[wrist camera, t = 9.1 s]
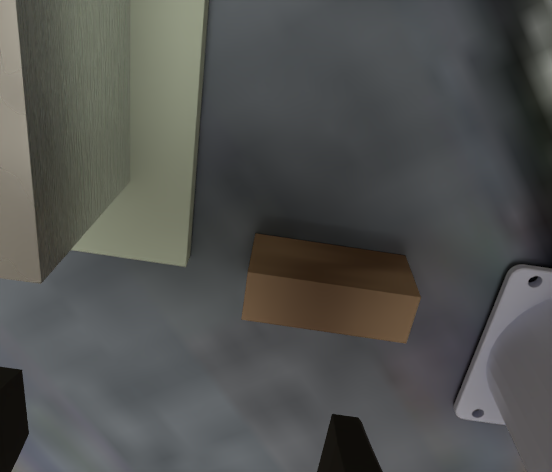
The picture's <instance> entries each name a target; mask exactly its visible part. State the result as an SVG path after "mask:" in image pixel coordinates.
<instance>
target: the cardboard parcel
mask: <svg viewBox="0 0 552 472" xmlns="http://www.w3.org/2000/svg"><path fill="white" fill-rule="evenodd" d="M420 299H421V296H420V294H419V291H418V288H417V286H416V283H415V280H414V277H413V275H412V272H411V269H410V267H409V264H408V261H407V259H406V256H405V255H398V254H391V253H385V252H378V251H371V250H364V249H358V248H351V247H344V246H337V245H331V244H324V243H317V242H310V241H304V240H297V239H290V238H284V237H277V236H270V235H263V234H257V233H255V238H254V243H253V248H252V253H251V259H250V264H249V269H248V275H247V282H246V290H245V297H244V305H243V312H242V319H241V320H248V321H255V322H262V323H269V324H276V325H282V326H289V327H296V328H303V329H310V330H317V331H324V332H331V333H338V334H345V335H351V336H358V337H365V338H372V339H379V340H386V341H393V342H400V343H406V342H407V339H408V336H409V333H410V330H411V327H412V324H413V320H414V317H415V314H416V311H417V308H418V305H419V302H420Z"/></svg>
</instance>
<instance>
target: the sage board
mask: <svg viewBox="0 0 552 472" xmlns="http://www.w3.org/2000/svg"><path fill="white" fill-rule="evenodd" d="M208 6H209V0H130V182H129V184H128V185H127V186H126V187H125V188H124V189H123V190H122V192H121V193H120V194H119V195H118V196H117V197H116V198H115V200H114V201H113V202H112V203H111V204H110V205H109V206H108V208H107V209H106V210H105V211H104V212H103V213H102V215H101V216H100V217H99V218H98V219H97V220H96V221H95V223H94V224H93V225H92V226H91V227H90V228H89V229H88V231H87V232H86V233H85V234H84V235H83V236H82V237H81V239H80V240H79V241H78V242H77V243H76V244H75V246H74V247H73V248H72V249H71V250H74V251H81V252H88V253H95V254H102V255H108V256H115V257H122V258H129V259H136V260H143V261H149V262H156V263H163V264H170V265H177V266H183V267H186V265H187V263H188V261H189V258H190V250H191V236H192V223H193V209H194V196H195V182H196V169H197V155H198V141H199V128H200V114H201V101H202V87H203V74H204V60H205V47H206V33H207V20H208Z"/></svg>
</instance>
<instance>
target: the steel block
mask: <svg viewBox="0 0 552 472" xmlns="http://www.w3.org/2000/svg"><path fill="white" fill-rule="evenodd" d="M129 182H130V0H0V278H4V279H11V280H18V281H26V282H33V283H40V284H41V283H42V282H43V281H44V280H45V279H46V278H47V277H48V275H49V274H50V273H51V272H52V271H53V270H54V268H55V267H56V266H57V265H58V264H59V263H60V262H61V260H62V259H63V258H64V257H65V256H66V255H67V254H68V252H69V251H70V250H71V249H72V248H73V247H74V246H75V244H76V243H77V242H78V241H79V240H80V239H81V237H82V236H83V235H84V234H85V233H86V232H87V231H88V229H89V228H90V227H91V226H92V225H93V224H94V223H95V221H96V220H97V219H98V218H99V217H100V216H101V215H102V213H103V212H104V211H105V210H106V209H107V208H108V206H109V205H110V204H111V203H112V202H113V201H114V200H115V198H116V197H117V196H118V195H119V194H120V193H121V192H122V190H123V189H124V188H125V187H126V186H127V185H128V184H129Z"/></svg>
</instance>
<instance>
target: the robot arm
mask: <svg viewBox="0 0 552 472" xmlns="http://www.w3.org/2000/svg"><path fill="white" fill-rule="evenodd" d="M534 276H538V278H537V279H536V280H535V281H533V282H528V281H529V279H530V278H532V277H534ZM476 409H480V410H478V411H474V410H476ZM454 410H455V413H456V415H457V416H458V417H459V418H462V419H466V420H473V421H480V422H487V423H494V424H501V425H506V427H507V429H508V431H509V433H510V435H511V438H512V440H513V442H514V444H515V446H516V449H517V451H518V453H519V455H520V457H521V460H522V462H523V464H524V466H525V468H526V471H527V472H552V269H551V268H545V267H538V266H531V265H524V264H520V265H516V266H513V267H512V268H511V269H509V271H508V272H507V274H506V277H505V279H504V282H503V284H502V287H501V289H500V291H499V294H498V296H497V299H496V301H495V304H494V306H493V309H492V311H491V314H490V316H489V319H488V321H487V324H486V326H485V329H484V331H483V334H482V336H481V339H480V341H479V344H478V346H477V349H476V351H475V354H474V356H473V359H472V361H471V364H470V366H469V369H468V371H467V374H466V376H465V379H464V381H463V384H462V386H461V389H460V391H459V394H458V396H457V399H456V401H455V404H454ZM28 434H29V430H28V421H27V412H26V402H25V393H24V384H23V375H22V370H19V369H12V368H5V367H0V472H11V471H12V469H13V467H14V465H15V463H16V461H17V459H18V457H19V454H20V452H21V450H22V448H23V446H24V443H25V441H26V439H27V437H28ZM317 472H383V471H382V469H381V467H380V465H379V463H378V460H377V458H376V456H375V454H374V451H373V449H372V447H371V444H370V442H369V440H368V437H367V435H366V432H365V430H364V427H363V424H362V422H361V421H360V419H359V418H357V417H350V416H343V415H336V414H332V417H331V420H330V424H329V428H328V432H327V436H326V440H325V444H324V447H323V451H322V455H321V459H320V463H319V467H318V471H317Z"/></svg>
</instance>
